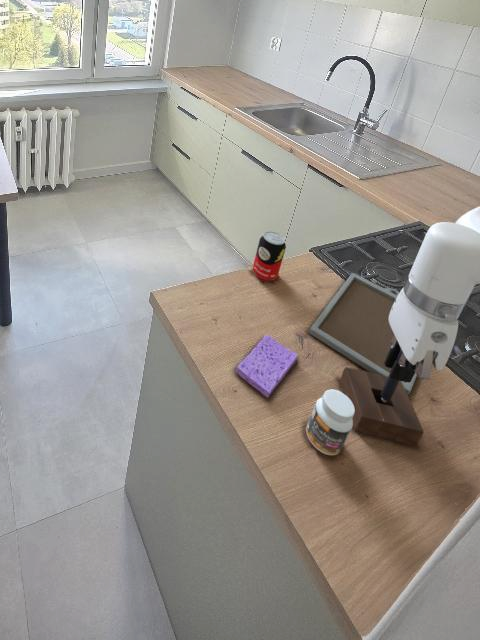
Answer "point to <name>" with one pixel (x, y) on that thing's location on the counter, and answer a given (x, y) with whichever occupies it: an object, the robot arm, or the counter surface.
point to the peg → (390, 385)
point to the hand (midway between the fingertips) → (396, 372)
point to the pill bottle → (330, 422)
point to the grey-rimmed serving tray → (360, 325)
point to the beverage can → (269, 255)
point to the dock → (380, 407)
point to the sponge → (266, 365)
